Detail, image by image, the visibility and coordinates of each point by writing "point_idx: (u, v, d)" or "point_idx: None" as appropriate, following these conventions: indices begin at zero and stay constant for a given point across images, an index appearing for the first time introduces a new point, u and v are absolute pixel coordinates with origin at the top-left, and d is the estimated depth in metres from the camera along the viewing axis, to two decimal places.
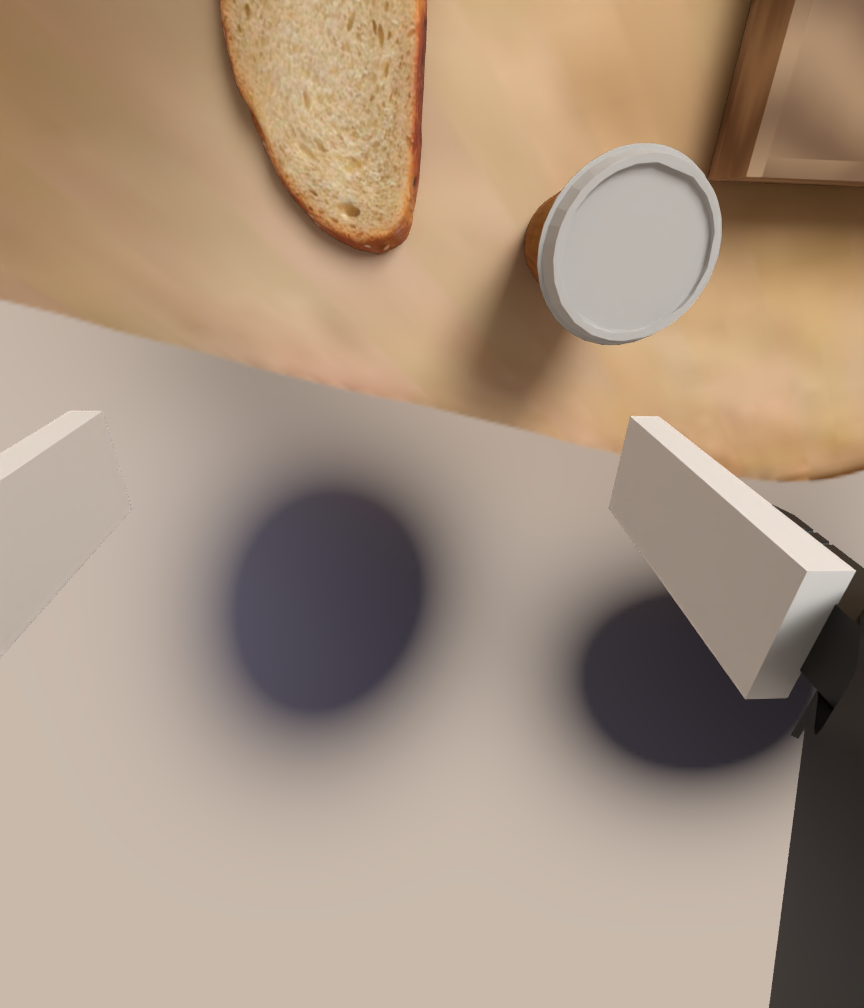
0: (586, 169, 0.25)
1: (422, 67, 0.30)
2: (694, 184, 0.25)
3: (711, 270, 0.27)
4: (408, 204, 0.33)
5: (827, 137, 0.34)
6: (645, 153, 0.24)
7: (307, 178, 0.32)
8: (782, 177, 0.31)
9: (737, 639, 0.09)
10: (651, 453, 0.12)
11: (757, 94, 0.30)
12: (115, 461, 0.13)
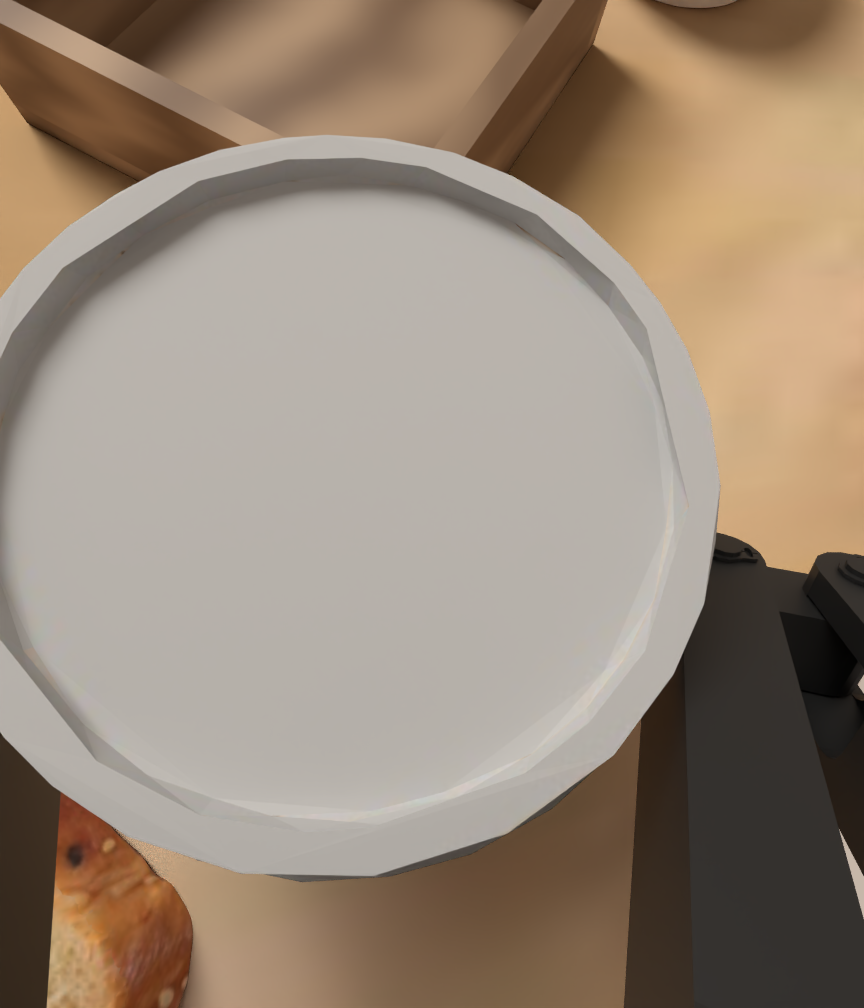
0: None
1: None
2: (237, 195, 0.07)
3: (553, 206, 0.07)
4: (97, 906, 0.13)
5: None
6: (8, 300, 0.06)
7: None
8: None
9: None
10: None
11: None
12: None
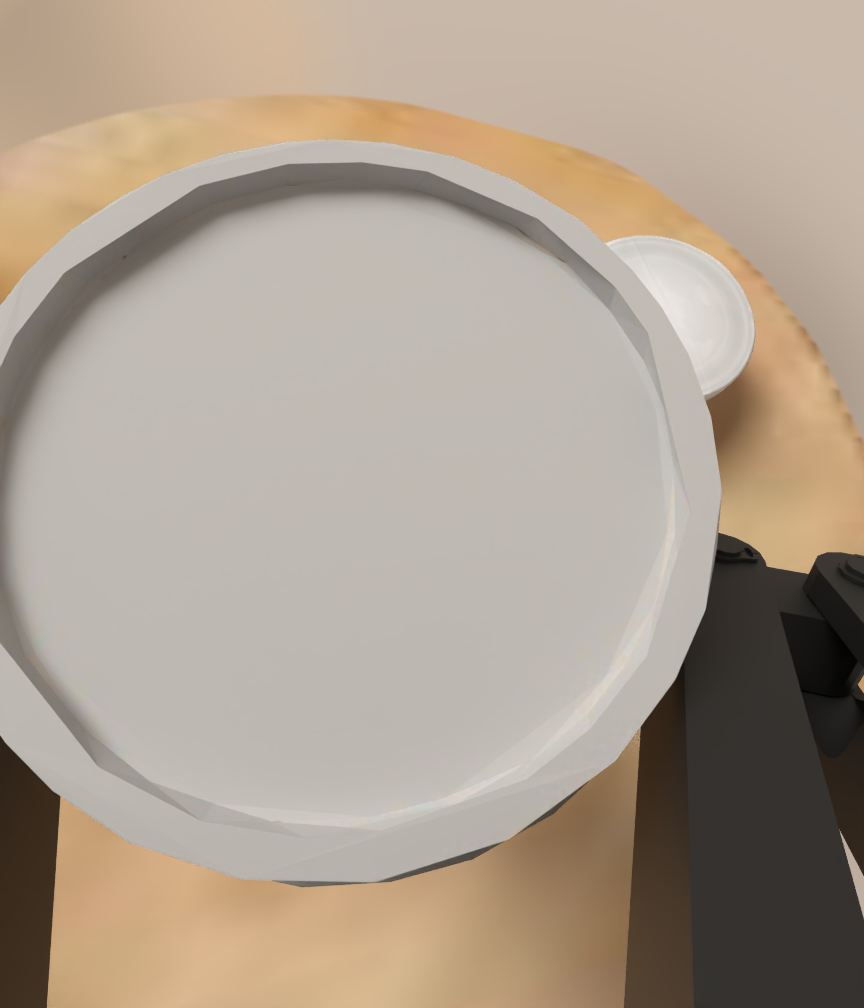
0: None
1: None
2: (239, 199, 0.07)
3: (555, 210, 0.07)
4: None
5: None
6: (10, 305, 0.06)
7: None
8: None
9: None
10: None
11: None
12: None
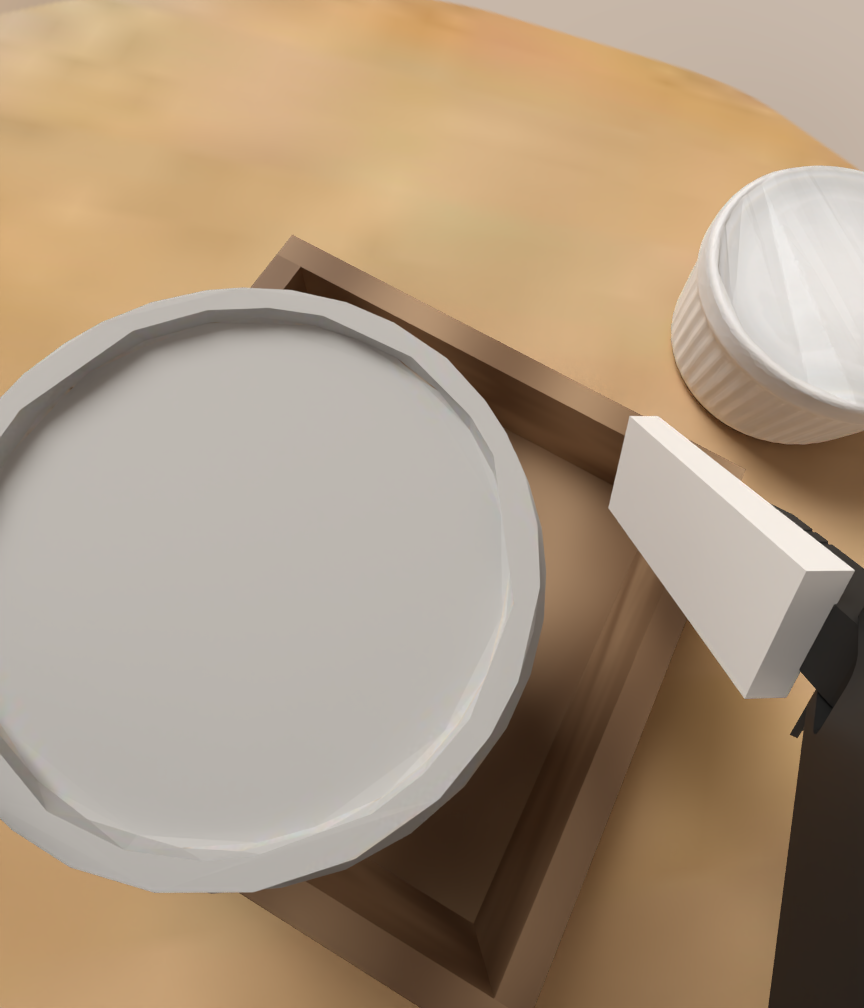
0: None
1: None
2: (168, 336, 0.08)
3: (426, 349, 0.08)
4: None
5: (511, 724, 0.18)
6: None
7: None
8: (549, 960, 0.13)
9: (736, 639, 0.09)
10: (651, 453, 0.12)
11: None
12: None
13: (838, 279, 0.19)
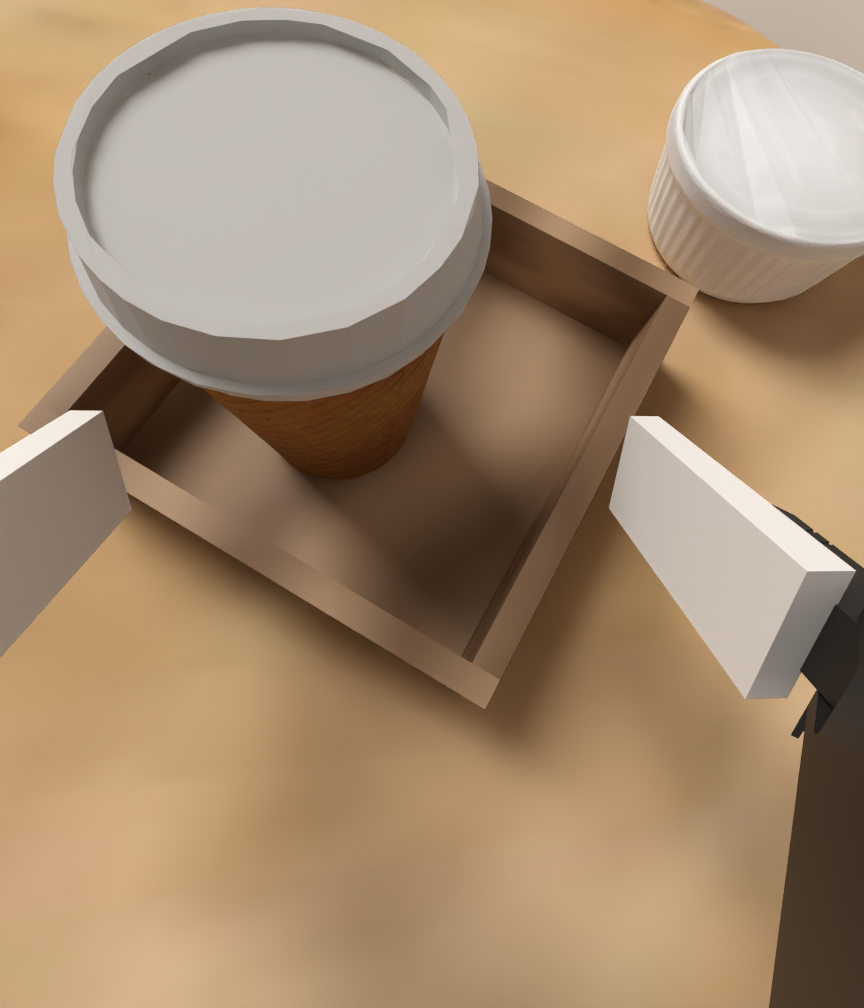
0: None
1: None
2: (214, 44, 0.12)
3: (398, 45, 0.12)
4: None
5: (495, 510, 0.21)
6: None
7: None
8: (518, 640, 0.17)
9: (737, 639, 0.09)
10: (651, 453, 0.12)
11: None
12: (116, 461, 0.13)
13: (787, 139, 0.22)
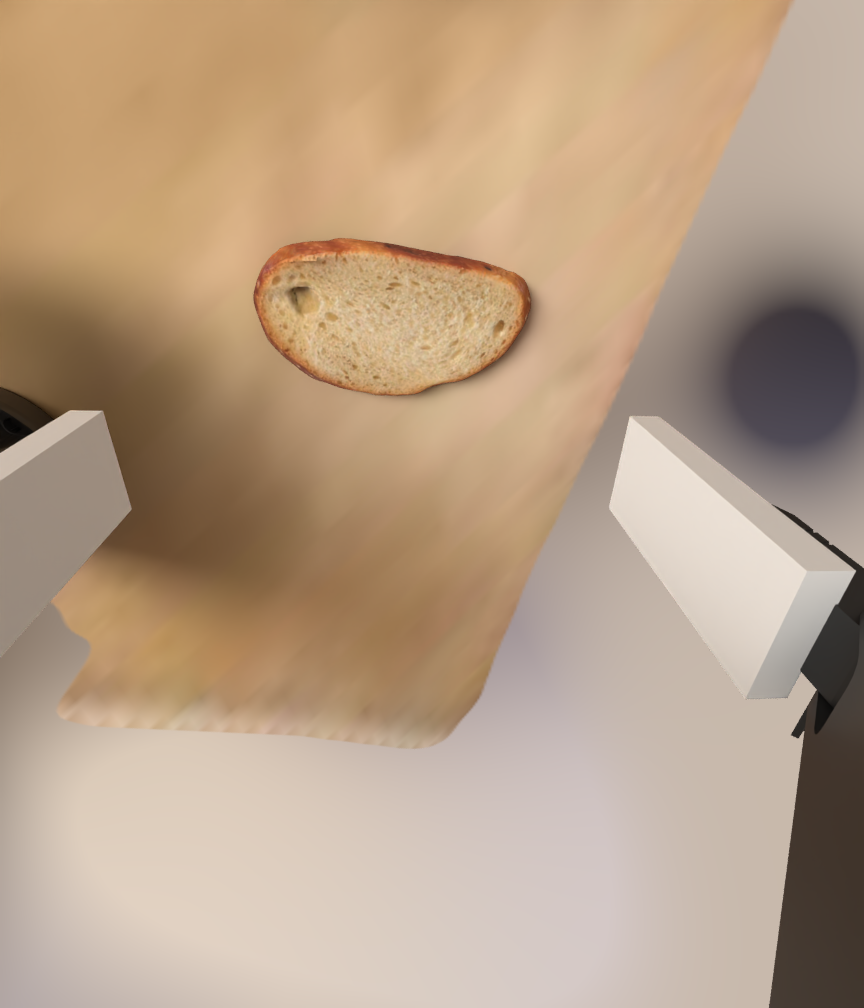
0: None
1: (413, 251, 0.38)
2: None
3: None
4: (504, 277, 0.39)
5: None
6: None
7: (473, 358, 0.42)
8: None
9: (737, 639, 0.09)
10: (651, 453, 0.12)
11: None
12: (115, 461, 0.13)
13: None
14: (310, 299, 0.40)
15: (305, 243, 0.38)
